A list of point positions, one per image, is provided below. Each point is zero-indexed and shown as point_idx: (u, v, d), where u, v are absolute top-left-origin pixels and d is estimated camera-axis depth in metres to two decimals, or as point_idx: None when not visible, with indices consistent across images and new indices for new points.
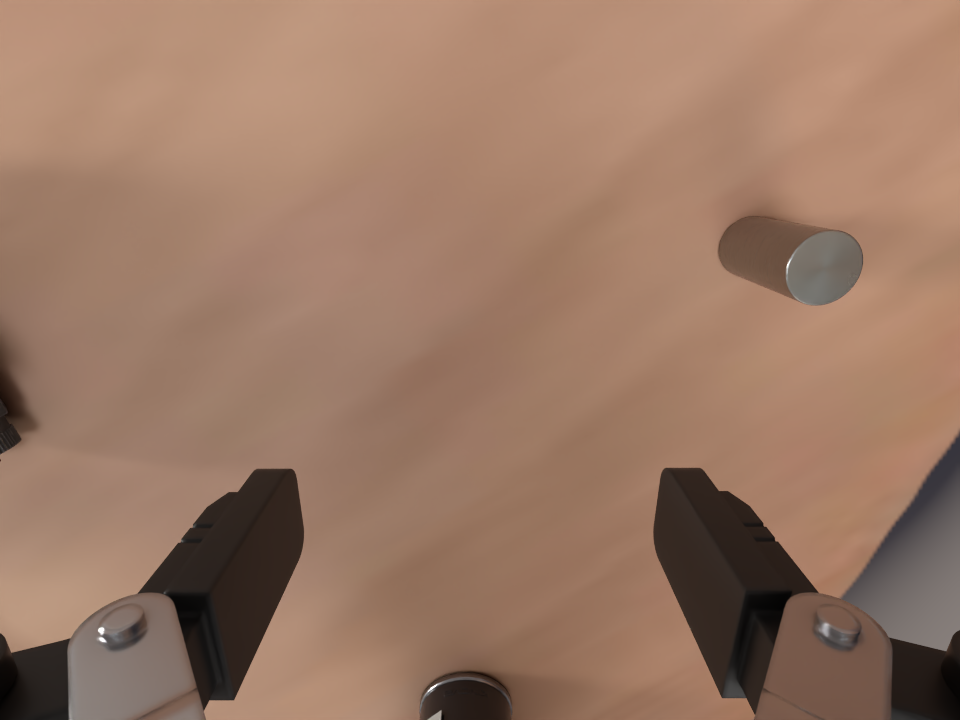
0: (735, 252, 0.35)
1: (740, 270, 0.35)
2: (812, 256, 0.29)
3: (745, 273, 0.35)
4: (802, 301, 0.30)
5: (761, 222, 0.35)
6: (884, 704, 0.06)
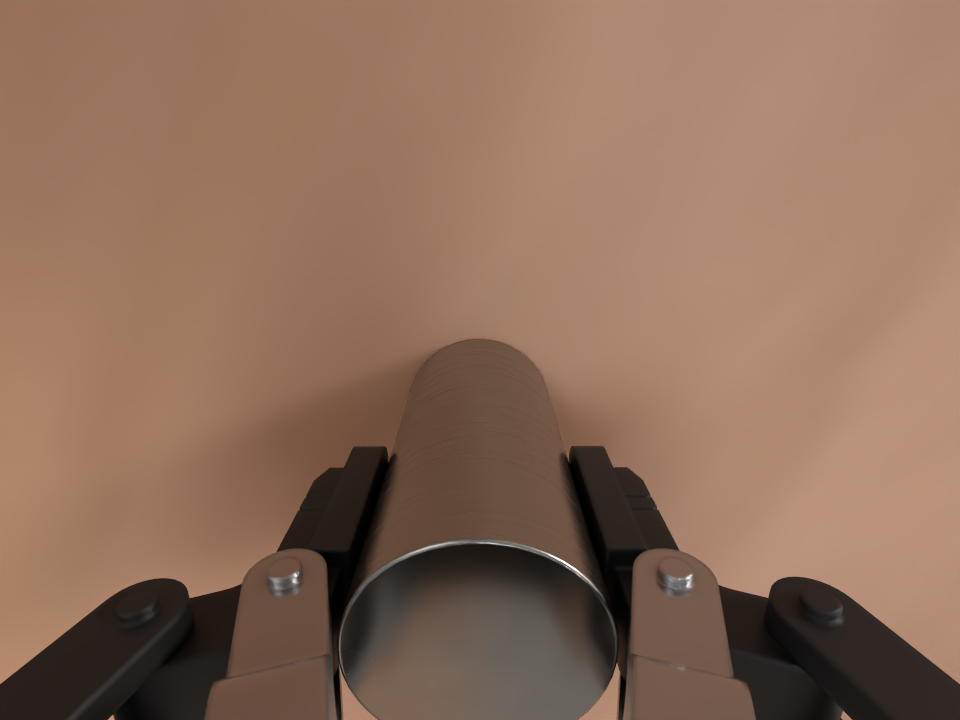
0: (554, 416, 0.14)
1: (527, 391, 0.13)
2: (546, 670, 0.08)
3: (523, 397, 0.12)
4: (477, 544, 0.07)
5: None
6: (721, 634, 0.07)
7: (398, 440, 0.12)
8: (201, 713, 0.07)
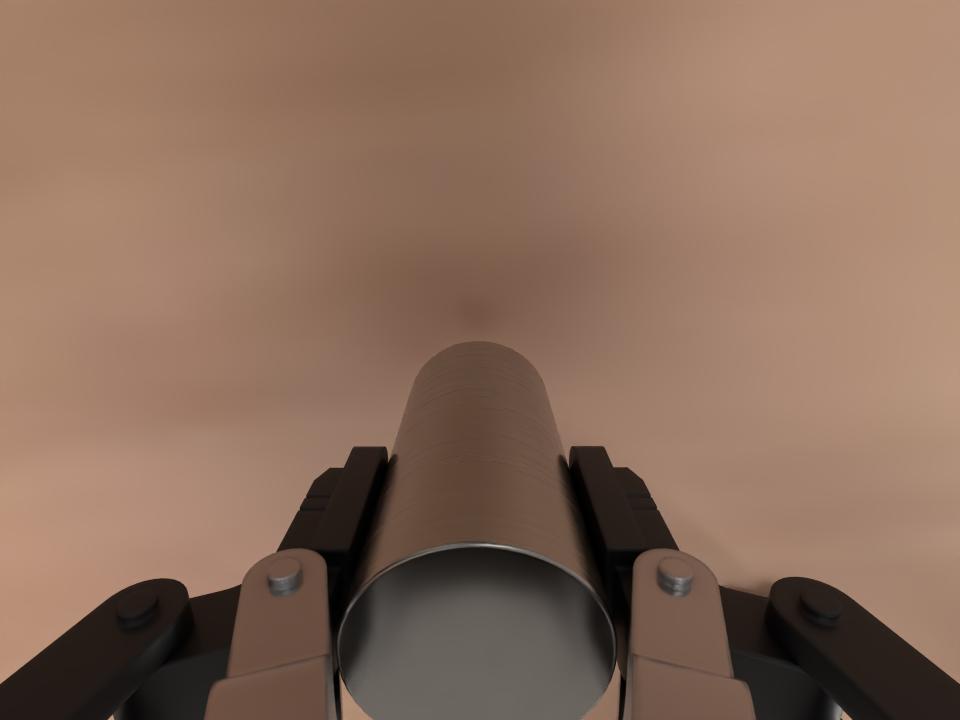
0: (553, 418, 0.14)
1: (526, 393, 0.13)
2: (545, 674, 0.08)
3: (522, 400, 0.12)
4: (476, 548, 0.07)
5: None
6: (721, 634, 0.07)
7: (397, 442, 0.12)
8: (201, 713, 0.07)
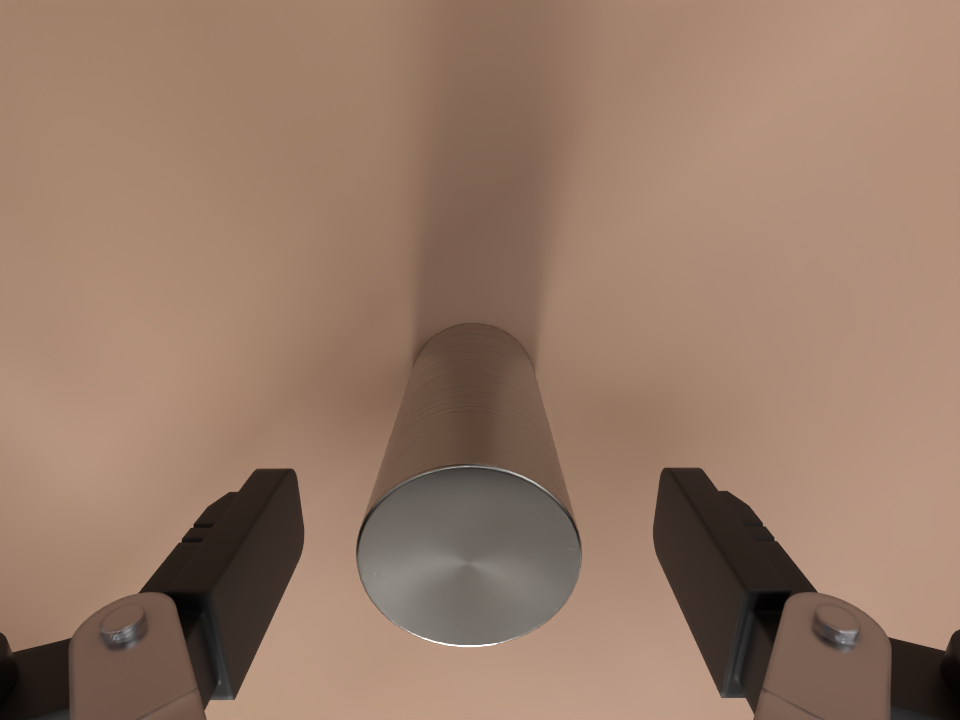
0: (538, 388, 0.15)
1: (513, 364, 0.15)
2: (524, 575, 0.10)
3: (510, 369, 0.14)
4: (468, 467, 0.09)
5: None
6: (883, 703, 0.06)
7: (403, 405, 0.14)
8: None
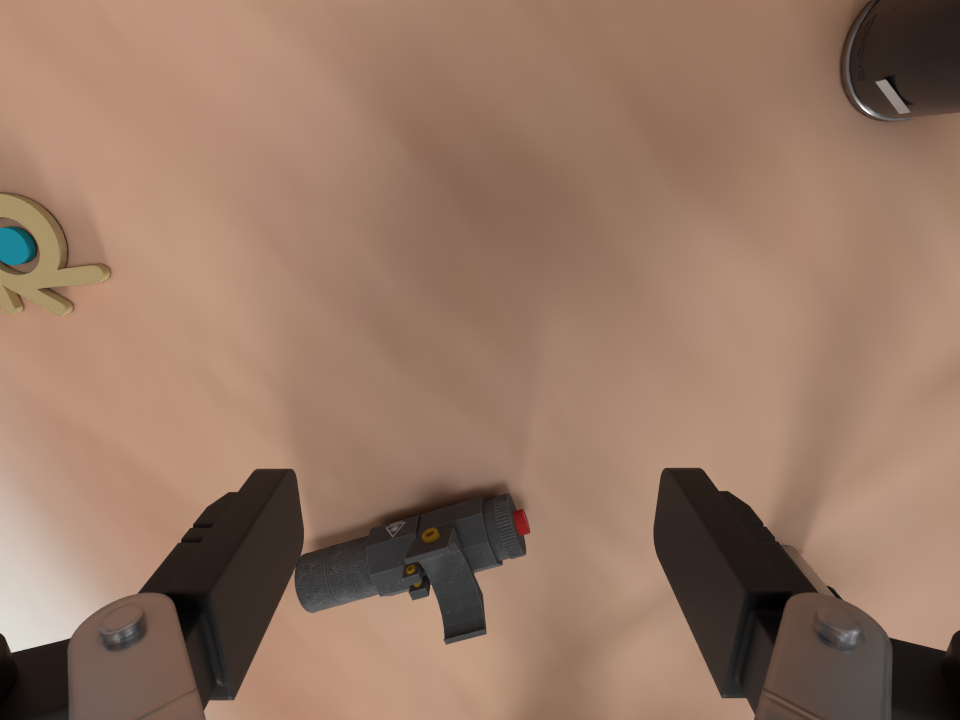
0: None
1: (811, 569, 0.52)
2: None
3: (813, 572, 0.51)
4: None
5: None
6: (883, 704, 0.06)
7: None
8: None
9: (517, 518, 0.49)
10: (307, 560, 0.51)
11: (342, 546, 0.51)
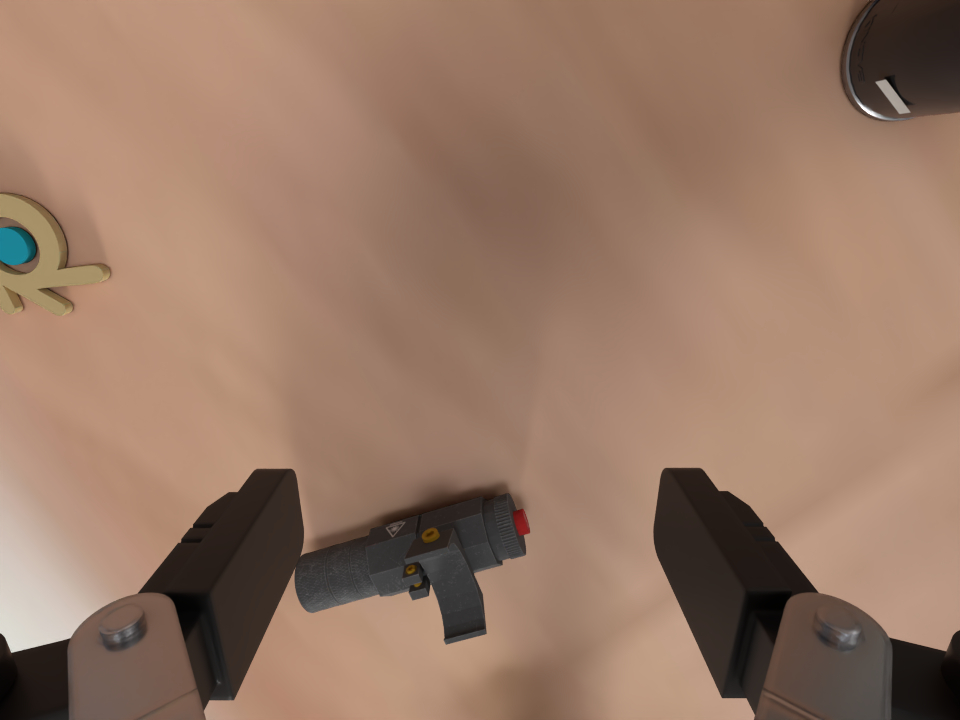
0: None
1: None
2: None
3: None
4: None
5: None
6: (883, 704, 0.06)
7: None
8: None
9: (517, 518, 0.49)
10: (307, 560, 0.51)
11: (342, 546, 0.51)
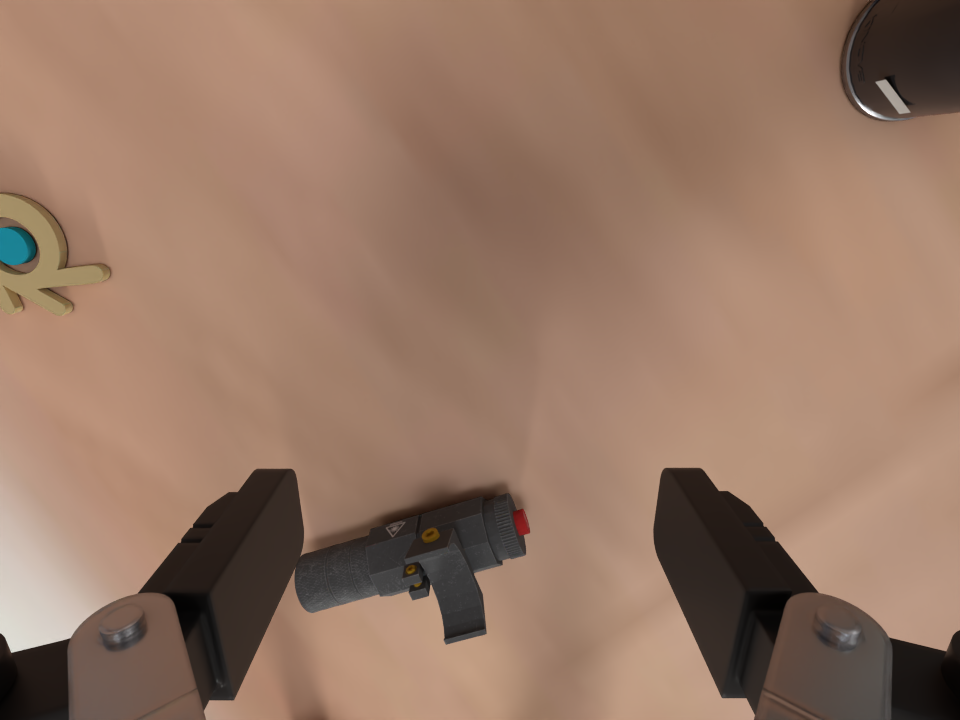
0: None
1: None
2: None
3: None
4: None
5: None
6: (883, 704, 0.06)
7: None
8: None
9: (517, 518, 0.49)
10: (307, 560, 0.51)
11: (342, 546, 0.51)
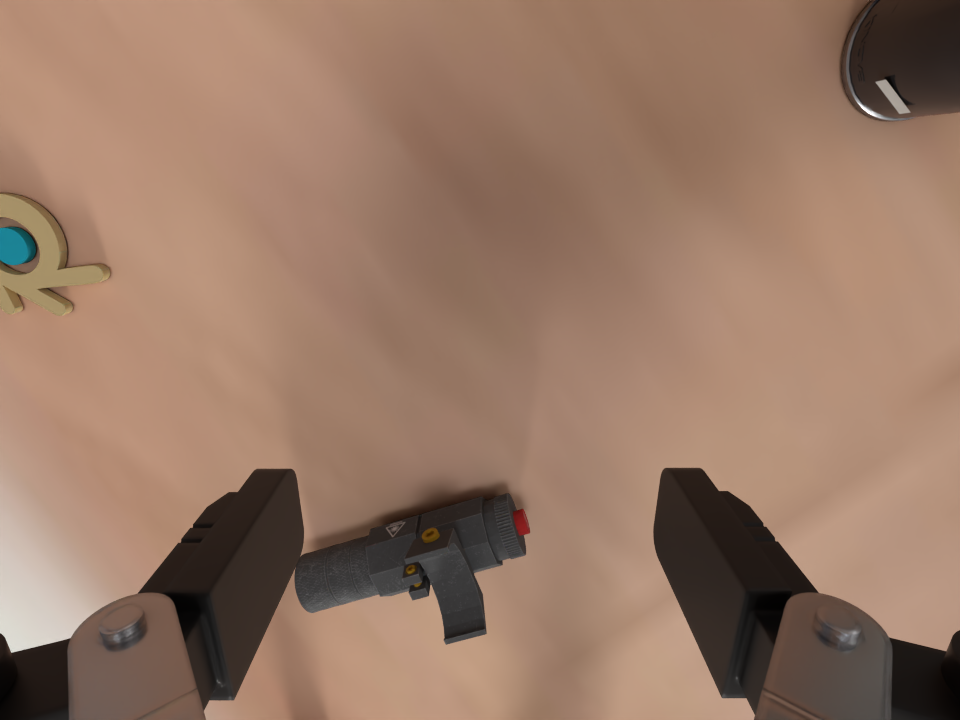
0: None
1: None
2: None
3: None
4: None
5: None
6: (883, 704, 0.06)
7: None
8: None
9: (517, 518, 0.49)
10: (307, 560, 0.51)
11: (342, 546, 0.51)
